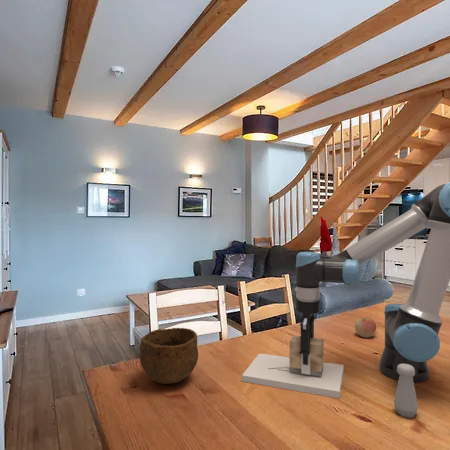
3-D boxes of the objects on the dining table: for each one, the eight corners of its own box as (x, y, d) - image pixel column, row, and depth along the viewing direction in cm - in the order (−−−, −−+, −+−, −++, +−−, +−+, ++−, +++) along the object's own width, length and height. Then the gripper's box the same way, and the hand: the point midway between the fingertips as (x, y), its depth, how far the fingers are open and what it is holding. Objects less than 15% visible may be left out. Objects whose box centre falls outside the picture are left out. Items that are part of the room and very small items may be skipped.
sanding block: (323, 369, 116) (323, 339, 116) (321, 376, 111) (321, 345, 110) (293, 364, 120) (293, 335, 120) (289, 371, 114) (289, 341, 114)
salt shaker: (389, 408, 96) (389, 361, 96) (409, 407, 97) (409, 360, 97) (402, 420, 91) (402, 370, 90) (423, 419, 91) (423, 369, 91)
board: (343, 370, 120) (343, 365, 120) (339, 398, 102) (339, 391, 102) (259, 358, 132) (259, 353, 132) (242, 381, 113) (241, 375, 113)
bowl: (149, 401, 101) (148, 349, 101) (134, 375, 118) (133, 331, 118) (208, 386, 110) (208, 339, 110) (186, 364, 126) (186, 323, 126)
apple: (377, 335, 157) (377, 317, 157) (374, 341, 150) (374, 322, 150) (357, 332, 162) (357, 314, 162) (352, 337, 154) (352, 319, 154)
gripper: (300, 292, 125) (300, 357, 125) (290, 304, 107) (290, 379, 108) (322, 294, 122) (322, 360, 123) (315, 307, 105) (315, 384, 105)
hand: (307, 369), depth 115 cm, fingers closed on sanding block, 6 cm apart
